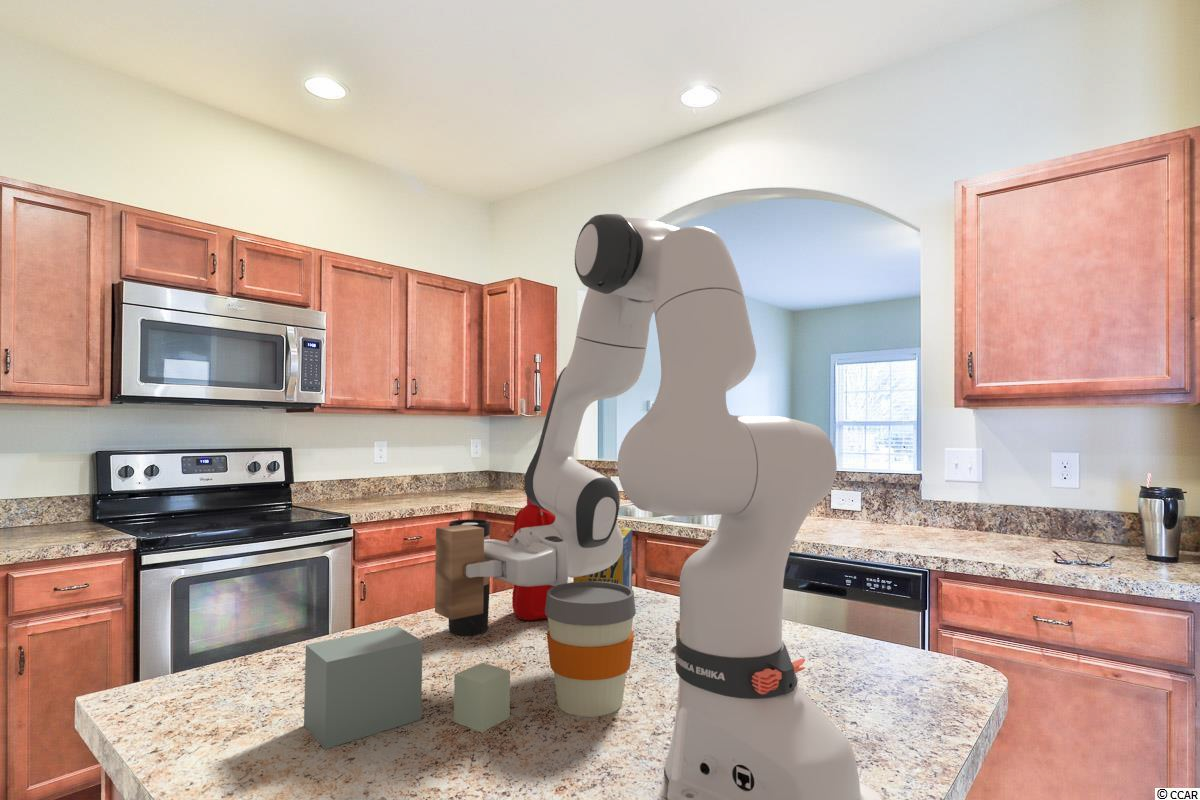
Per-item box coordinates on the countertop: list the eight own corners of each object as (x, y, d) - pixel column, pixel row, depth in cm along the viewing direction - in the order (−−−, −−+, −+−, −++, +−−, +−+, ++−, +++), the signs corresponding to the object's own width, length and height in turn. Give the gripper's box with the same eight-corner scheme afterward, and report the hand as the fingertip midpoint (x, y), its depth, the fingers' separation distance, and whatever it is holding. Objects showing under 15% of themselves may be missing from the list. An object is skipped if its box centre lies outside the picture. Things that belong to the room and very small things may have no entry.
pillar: (483, 613, 91) (484, 528, 92) (451, 619, 88) (452, 531, 89) (466, 606, 95) (466, 524, 96) (434, 612, 92) (435, 527, 93)
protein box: (572, 613, 131) (572, 536, 132) (587, 594, 146) (587, 525, 147) (623, 616, 129) (623, 538, 130) (633, 596, 144) (633, 527, 145)
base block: (421, 719, 83) (422, 640, 83) (324, 749, 75) (326, 662, 75) (395, 699, 89) (396, 626, 89) (303, 725, 81) (305, 644, 81)
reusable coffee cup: (651, 695, 90) (651, 587, 91) (606, 731, 80) (607, 609, 80) (576, 677, 97) (576, 577, 97) (525, 708, 86) (526, 595, 87)
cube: (509, 717, 84) (510, 670, 84) (482, 732, 79) (482, 683, 80) (481, 708, 86) (482, 662, 87) (453, 722, 82) (454, 674, 82)
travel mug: (439, 634, 117) (440, 523, 118) (460, 622, 124) (461, 518, 125) (477, 638, 115) (478, 525, 116) (496, 625, 122) (497, 520, 123)
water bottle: (520, 626, 122) (521, 494, 123) (509, 610, 132) (510, 488, 134) (567, 621, 125) (567, 492, 126) (553, 607, 135) (554, 487, 137)
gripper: (499, 527, 108) (422, 536, 99) (574, 543, 93) (490, 554, 84) (498, 565, 108) (421, 577, 99) (574, 587, 93) (490, 603, 84)
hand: (453, 567), depth 91 cm, fingers closed on pillar, 5 cm apart
